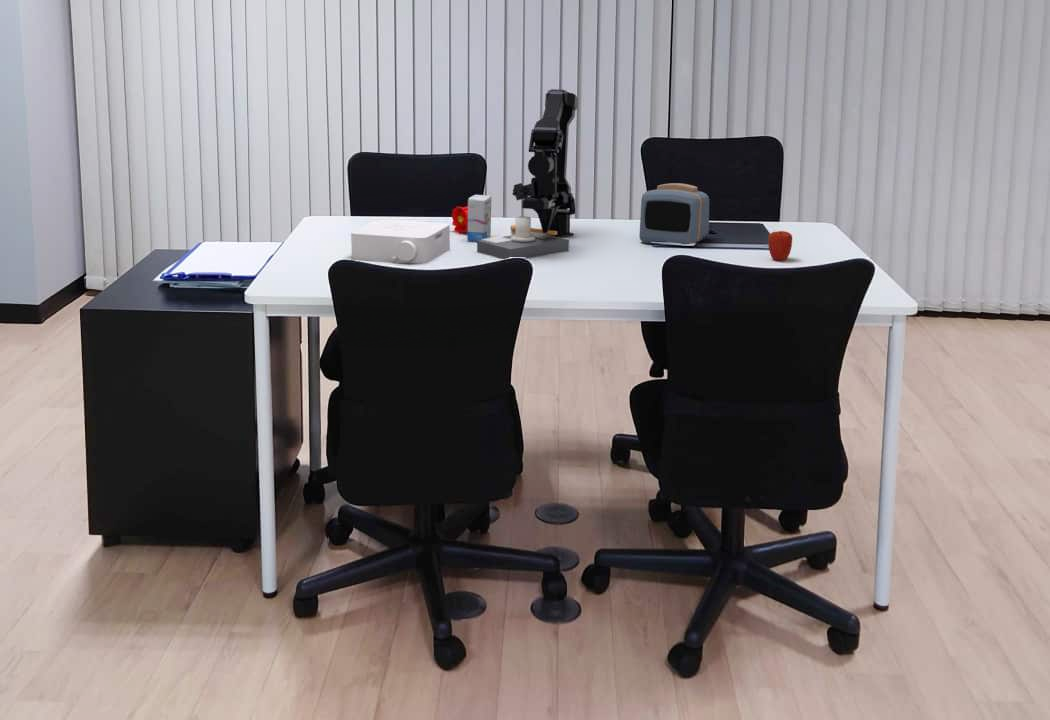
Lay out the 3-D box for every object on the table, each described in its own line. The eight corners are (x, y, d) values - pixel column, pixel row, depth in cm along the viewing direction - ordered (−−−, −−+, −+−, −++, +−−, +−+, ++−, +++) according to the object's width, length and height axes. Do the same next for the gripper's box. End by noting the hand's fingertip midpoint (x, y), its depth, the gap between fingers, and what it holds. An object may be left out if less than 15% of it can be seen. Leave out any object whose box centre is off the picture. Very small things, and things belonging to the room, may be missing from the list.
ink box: (484, 242, 373) (484, 199, 370) (467, 241, 374) (466, 198, 371) (491, 236, 382) (491, 194, 378) (474, 235, 382) (474, 193, 379)
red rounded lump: (772, 256, 359) (773, 228, 357) (794, 258, 356) (796, 230, 354) (763, 260, 354) (765, 232, 352) (786, 263, 351) (788, 234, 349)
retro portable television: (636, 244, 373) (638, 186, 369) (654, 233, 388) (656, 177, 383) (694, 249, 367) (697, 190, 363) (710, 238, 382) (713, 181, 377)
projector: (346, 260, 351) (345, 234, 349) (379, 244, 372) (378, 219, 370) (423, 266, 346) (423, 239, 344) (452, 249, 366) (452, 223, 364)
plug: (524, 247, 367) (524, 214, 364) (539, 251, 362) (540, 218, 360) (505, 250, 363) (506, 217, 360) (521, 254, 358) (521, 221, 356)
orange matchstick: (508, 229, 368) (508, 226, 368) (513, 228, 370) (513, 224, 370) (553, 235, 361) (553, 231, 360) (558, 234, 363) (558, 230, 362)
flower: (491, 215, 384) (467, 217, 380) (484, 237, 389) (460, 240, 384) (478, 200, 389) (454, 201, 385) (471, 222, 394) (447, 224, 389)
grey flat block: (532, 241, 375) (532, 226, 374) (568, 250, 364) (568, 235, 362) (474, 251, 362) (474, 235, 361) (510, 260, 351) (510, 244, 350)
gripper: (530, 169, 370) (529, 226, 374) (503, 175, 353) (503, 235, 357) (568, 171, 366) (568, 229, 370) (543, 177, 349) (543, 237, 353)
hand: (544, 232), depth 362 cm, fingers closed, pressing on orange matchstick
